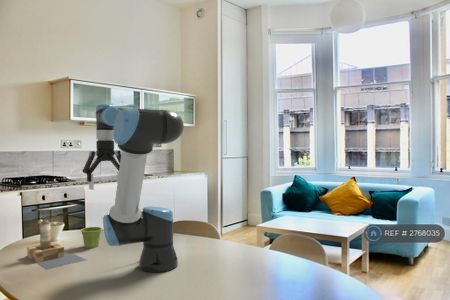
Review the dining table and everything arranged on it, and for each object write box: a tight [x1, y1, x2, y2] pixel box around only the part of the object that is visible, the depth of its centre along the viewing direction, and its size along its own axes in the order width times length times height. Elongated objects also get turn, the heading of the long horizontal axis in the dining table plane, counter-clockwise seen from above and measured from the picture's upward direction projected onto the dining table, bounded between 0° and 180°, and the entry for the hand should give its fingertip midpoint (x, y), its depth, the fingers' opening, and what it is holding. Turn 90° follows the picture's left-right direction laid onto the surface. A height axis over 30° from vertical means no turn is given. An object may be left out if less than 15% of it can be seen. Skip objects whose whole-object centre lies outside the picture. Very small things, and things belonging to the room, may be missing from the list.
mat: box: [24, 249, 87, 270], centre depth 160 cm, size 24×16×1 cm, turn 46°
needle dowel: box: [39, 219, 52, 250], centre depth 162 cm, size 4×4×16 cm
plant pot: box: [80, 226, 103, 249], centre depth 178 cm, size 9×9×9 cm
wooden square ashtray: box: [26, 241, 65, 263], centre depth 162 cm, size 11×11×4 cm
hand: (105, 188), depth 170 cm, fingers open, 13 cm apart
